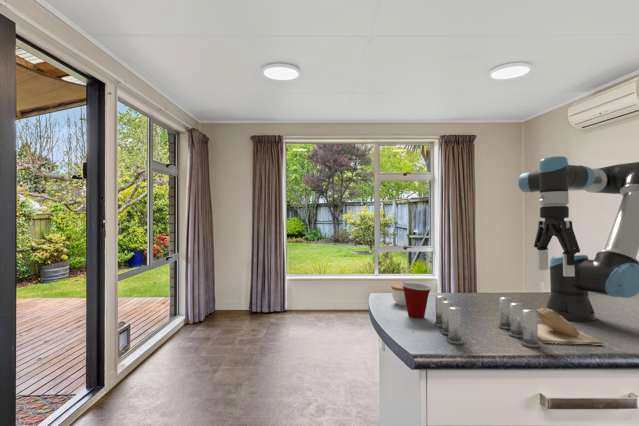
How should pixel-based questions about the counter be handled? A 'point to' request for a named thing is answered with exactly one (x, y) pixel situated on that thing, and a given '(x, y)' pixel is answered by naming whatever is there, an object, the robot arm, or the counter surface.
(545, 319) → the pottery oil lamp
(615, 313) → the counter surface
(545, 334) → the ash board
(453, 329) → the posts
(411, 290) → the plastic cup
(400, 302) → the lidded jar
